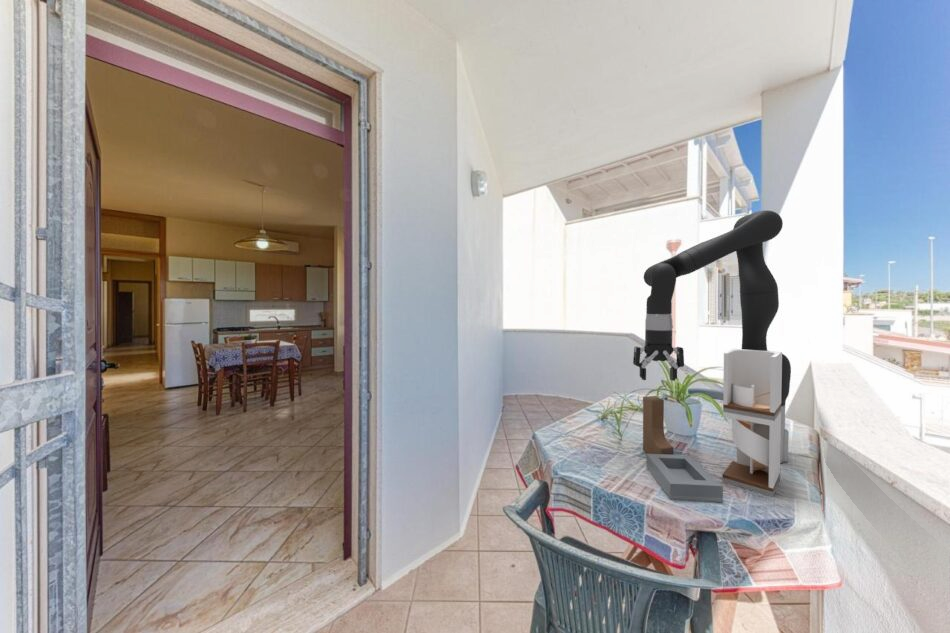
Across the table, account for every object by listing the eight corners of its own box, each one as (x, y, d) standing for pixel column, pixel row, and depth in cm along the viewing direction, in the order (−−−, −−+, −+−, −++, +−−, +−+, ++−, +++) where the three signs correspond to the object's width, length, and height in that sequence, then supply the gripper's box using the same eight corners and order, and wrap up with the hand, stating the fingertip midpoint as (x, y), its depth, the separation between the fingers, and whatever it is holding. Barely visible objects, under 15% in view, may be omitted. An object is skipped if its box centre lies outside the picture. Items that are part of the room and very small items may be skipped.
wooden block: (674, 461, 109) (674, 403, 109) (660, 462, 109) (661, 404, 108) (654, 449, 118) (654, 395, 118) (642, 450, 118) (642, 396, 117)
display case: (732, 467, 105) (733, 348, 103) (779, 480, 97) (782, 352, 96) (722, 481, 97) (723, 353, 96) (772, 496, 89) (775, 357, 88)
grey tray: (689, 468, 105) (690, 455, 104) (722, 502, 87) (722, 486, 87) (646, 466, 106) (646, 453, 106) (670, 499, 89) (670, 483, 89)
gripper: (677, 327, 115) (677, 377, 115) (631, 327, 117) (630, 377, 117) (688, 329, 107) (687, 383, 108) (638, 329, 109) (637, 382, 110)
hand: (657, 379), depth 113 cm, fingers open, 8 cm apart
